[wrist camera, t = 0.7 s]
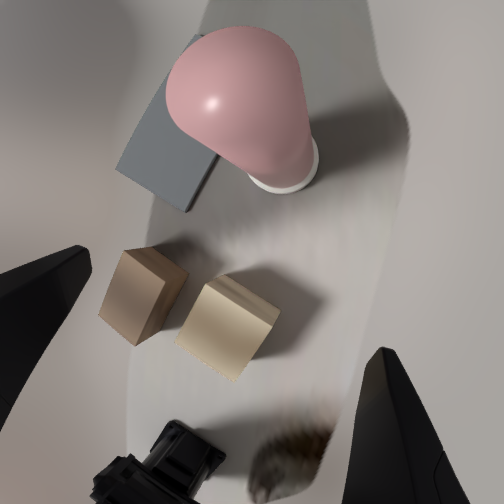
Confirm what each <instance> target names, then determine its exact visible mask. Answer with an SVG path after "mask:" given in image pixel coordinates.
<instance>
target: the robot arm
mask: <svg viewBox="0 0 504 504" xmlns="http://www.w3.org/2000/svg"><path fill="white" fill-rule="evenodd" d="M91 273H92V265H91V259H90V253H89V250H88V249H87V248H85V247H83V246H80V245H75V246H72V247H69V248H67V249H64V250H61V251H59V252H56V253H53V254H50V255H48V256H45V257H42V258H40V259H37V260H35V261H32V262H30V263H27V264H24V265H22V266H19V267H17V268H14V269H12V270H9V271H7V272H4V273H2V274H0V431H1V429H2V427H3V425H4V423H5V421H6V419H7V417H8V415H9V413H10V411H11V409H12V407H13V405H14V403H15V401H16V399H17V398H18V395H19V394H20V392H21V390H22V388H23V387H24V385H25V383H26V381H27V380H28V378H29V376H30V374H31V373H32V371H33V369H34V368H35V366H36V364H37V363H38V361H39V359H40V358H41V356H42V354H43V353H44V351H45V350H46V348H47V346H48V345H49V343H50V341H51V340H52V339H53V337H54V335H55V334H56V332H57V331H58V329H59V327H60V326H61V325H62V323H63V322H64V320H65V319H66V317H67V316H68V314H69V312H70V311H71V309H72V307H73V306H74V304H75V302H76V300H77V298H78V297H79V295H80V293H81V291H82V289H83V288H84V286H85V284H86V283H87V281H88V279H89V278H90V275H91ZM171 425H172V426H171ZM220 456H221V457H220ZM225 458H226V454H225V453H223V452H222V451H220V450H218V449H217V448H215V447H213V446H211V445H210V444H208V443H207V442H205V441H203V440H202V439H200V438H198V437H197V436H195V435H194V434H192V433H191V432H189V431H188V430H186V429H185V428H183V427H182V426H180V425H179V424H177V423H176V422H174V421H169V422H168V423H167V425H166V426H165V428H164V429H163V431H162V432H161V434H160V436H159V437H158V439H157V440H156V442H155V443H154V445H153V447H152V448H151V450H150V454H149V455H148V457H147V458H146V459H145V460H144V461H143V462H142V463H141V462H140V461H138V460H137V459H136V458H135V456H133V455H132V454H131V453H130V454H129V456H128V457H127V458H126V457H120V456H117V457H116V458H115V459H114V460H113V461H112V462H111V463H110V464H109V465H108V466H107V467H106V468H105V469H104V470H102V471H101V472H100V473H98V474H97V475H96V476H95V477H94V478H93V482H94V488H93V489H92V490H93V493H92V494H91V495H90V497H91V498H92V499H93V500H94V501H96V504H200V503H198V502H197V501H195V500H193V499H194V497H195V495H196V494H197V492H198V490H199V488H200V487H201V485H202V483H203V481H204V480H205V479H206V478H207V477H209V475H210V474H211V473H212V472H213V471H214V470H215V469H216V468H217V467H218V466H219V465H220V464H221V463H222V462H223V461H224V460H225ZM342 504H470V502H469V500H468V498H467V496H466V494H465V492H464V491H463V489H462V487H461V485H460V483H459V481H458V479H457V477H456V475H455V473H454V470H453V468H452V466H451V464H450V462H449V460H448V458H447V455H446V453H445V451H444V450H443V446H442V444H441V442H440V440H439V438H438V436H437V433H436V431H435V429H434V427H433V425H432V423H431V421H430V418H429V416H428V414H427V412H426V410H425V408H424V406H423V404H422V402H421V400H420V398H419V396H418V394H417V392H416V390H415V388H414V386H413V384H412V382H411V380H410V378H409V376H408V375H407V373H406V371H405V369H404V367H403V365H402V364H401V361H400V360H399V358H398V356H397V354H396V352H395V351H394V350H393V349H390V348H386V347H380V348H379V349H378V350H377V351H376V353H375V354H374V355H373V356H372V358H371V359H370V360H369V361H368V363H367V365H366V367H365V371H364V376H363V382H362V387H361V392H360V396H359V401H358V406H357V410H356V416H355V423H354V431H353V439H352V446H351V453H350V460H349V466H348V472H347V478H346V483H345V489H344V494H343V500H342Z"/></svg>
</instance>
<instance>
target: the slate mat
mask: <svg viewBox="0 0 504 504" xmlns="http://www.w3.org/2000/svg"><path fill="white" fill-rule="evenodd" d="M202 37H203V36H200V35H196V34H195V36H194V37H193V39H192V40H191V41H190V43H189V44H188V45H187V47H186V48H185V50H186V49H187V48H188V47H189V46H190V45H192V44H193V43H194V42H196V41H197V40H198V39H200V38H202ZM185 50H184V51H185ZM184 51H183V52H184ZM180 56H181V55H180ZM172 68H173V67H172ZM171 70H172V69H171ZM171 70H170V72H171ZM170 72H169V73H168V75H167V76H166V78H165V80H164V81H163V83H162V84H161V86H160V87H159V89H158V91H157V92H156V94H155V96H154V97H153V99H152V101H151V103H150V104H149V106H148V108H147V109H146V111H145V113H144V115H143V116H142V118H141V120H140V122H139V124H138V125H137V127H136V129H135V131H134V133H133V135H132V137H131V138H130V141H129V142H128V144H127V146H126V148H125V150H124V152H123V154H122V156H121V158H120V160H119V162H118V164H117V167H116V170H117V171H119V172H120V173H122V174H124V175H125V176H127V177H128V178H130V179H132V180H133V181H135V182H137V183H138V184H140V185H141V186H143V187H145V188H146V189H148V190H149V191H151V192H153V193H154V194H156V195H157V196H159V197H161V198H162V199H164V200H165V201H167V202H169V203H170V204H172V205H173V206H175V207H177V208H178V209H180V210H181V211H183V212H187V210H188V209H189V207H190V205H191V203H192V201H193V199H194V197H195V195H196V193H197V192H198V190H199V188H200V186H201V184H202V182H203V181H204V179H205V177H206V175H207V173H208V171H209V170H210V168H211V166H212V164H213V163H214V161H215V159H216V157H217V155H218V153H216V152H215V151H213V150H211V149H210V148H208V147H207V146H205V145H204V144H202V143H200V142H199V141H197V140H196V139H194V138H192V137H191V136H189V135H188V134H186V133H185V132H184V131H182V130H181V129H180V128H179V127H178V126H177V125H176V124H175V122H174V121H173V119H172V118H171V116H170V113H169V111H168V108H167V104H166V85H167V81H168V77H169V74H170Z"/></svg>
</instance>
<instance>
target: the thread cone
mask: <svg viewBox="0 0 504 504" xmlns="http://www.w3.org/2000/svg"><path fill="white" fill-rule="evenodd" d="M166 104H167V108H168V111H169V113H170V116H171V118H172V119H173V121H174V122H175V124H176V125H177V126H178V127H179V128H180V129H181V130H182V131H184V132H185V133H186V134H188V135H189V136H191V137H192V138H194V139H196V140H197V141H199V142H200V143H202V144H204V145H205V146H207V147H208V148H210V149H211V150H213V151H215V152H216V153H218V154H219V155H221V156H222V157H224V158H225V159H227V160H228V161H230V162H231V163H233V164H234V165H236V166H237V167H239V168H240V169H242V170H243V171H245V172H246V173H248V175H249V176H250V178H251V179H252V180H253V182H254V183H256V184H257V185H258V186H259V187H261V188H263V189H264V190H266V191H268V192H271V193H274V194H291V193H294V192H297V191H299V190H301V189H303V188H304V187H305V186H307V185H308V184H309V183H310V182H311V180H312V179H313V178H314V176H315V174H316V172H317V169H318V164H319V155H318V148H317V145H316V142H315V140H314V139H313V137H312V136H311V130H310V123H309V117H308V111H307V105H306V100H305V94H304V89H303V83H302V78H301V73H300V68H299V64H298V60H297V58H296V56H295V54H294V52H293V50H292V49H291V48H290V46H289V45H288V44H287V43H286V42H285V41H284V40H283V39H282V38H280V37H279V36H277V35H276V34H274V33H272V32H270V31H267V30H264V29H261V28H257V27H250V26H235V27H228V28H223V29H220V30H217V31H214V32H212V33H209V34H207V35H205V36H204V37H202V38H200V39H198V40H197V41H196V42H194V43H193V44H192V45H190V46H189V47H188V48H187V49H186V50H185V51H184V52H183V53H182V54H181V56H180V57H179V58H178V60H177V61H176V63H175V64H174V66H173V68H172V70H171V72H170V74H169V77H168V81H167V85H166Z"/></svg>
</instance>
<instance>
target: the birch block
mask: <svg viewBox="0 0 504 504" xmlns="http://www.w3.org/2000/svg"><path fill="white" fill-rule="evenodd" d="M280 312H281V310H280V309H278V308H277V307H275V306H273V305H272V304H270V303H269V302H267V301H265V300H264V299H262V298H261V297H259V296H257V295H256V294H254V293H253V292H251V291H249V290H248V289H246V288H245V287H243V286H242V285H240V284H238V283H237V282H235V281H234V280H232V279H231V278H229V277H228V276H226V275H222V276H220V277H218V278H216V279H214V280H212V281H210V282H208V283H206V284H205V285H204V287H203V289H202V291H201V293H200V295H199V297H198V298H197V300H196V302H195V304H194V306H193V308H192V310H191V311H190V313H189V315H188V317H187V319H186V321H185V323H184V325H183V326H182V328H181V330H180V332H179V334H178V336H177V338H176V340H175V342H174V343H176V344H177V345H179V346H180V347H181V348H183V349H184V350H186V351H187V352H188V353H190V354H191V355H193V356H194V357H196V358H197V359H199V360H200V361H202V362H203V363H205V364H206V365H207V366H209V367H210V368H212V369H214V370H215V371H217V372H218V373H220V374H221V375H223V376H224V377H226V378H227V379H229V380H231V381H232V382H234V383H235V381H236V380H237V379H238V377H239V376H240V374H241V373H242V371H243V370H244V368H245V367H246V366H247V364H248V363H249V361H250V360H251V358H252V357H253V355H254V354H255V352H256V351H257V350H258V348H259V347H260V345H261V344H262V342H263V341H264V339H265V338H266V336H267V335H268V333H269V332H270V330H271V329H272V327H273V325H274V323H275V321H276V320H277V318H278V316H279V314H280Z"/></svg>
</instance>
